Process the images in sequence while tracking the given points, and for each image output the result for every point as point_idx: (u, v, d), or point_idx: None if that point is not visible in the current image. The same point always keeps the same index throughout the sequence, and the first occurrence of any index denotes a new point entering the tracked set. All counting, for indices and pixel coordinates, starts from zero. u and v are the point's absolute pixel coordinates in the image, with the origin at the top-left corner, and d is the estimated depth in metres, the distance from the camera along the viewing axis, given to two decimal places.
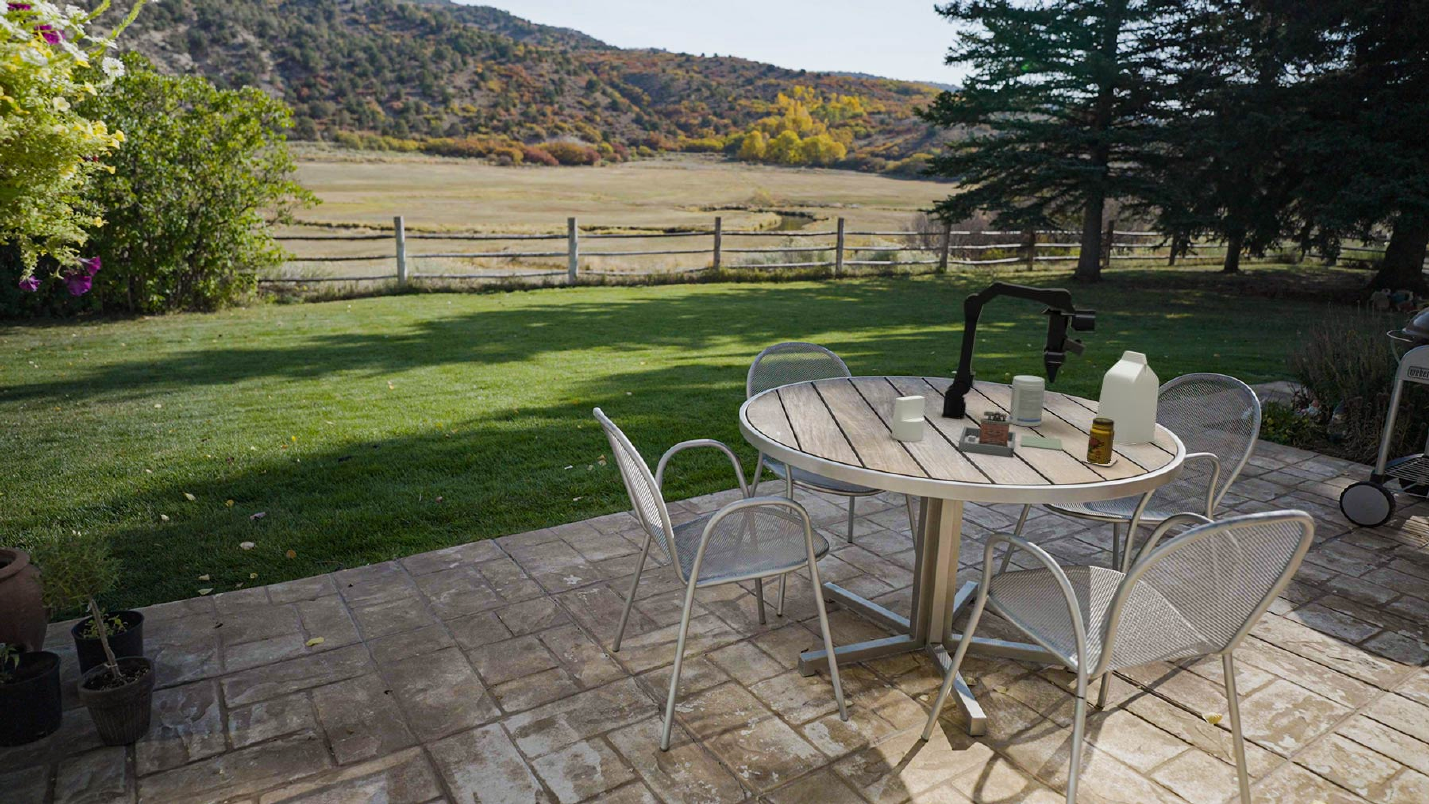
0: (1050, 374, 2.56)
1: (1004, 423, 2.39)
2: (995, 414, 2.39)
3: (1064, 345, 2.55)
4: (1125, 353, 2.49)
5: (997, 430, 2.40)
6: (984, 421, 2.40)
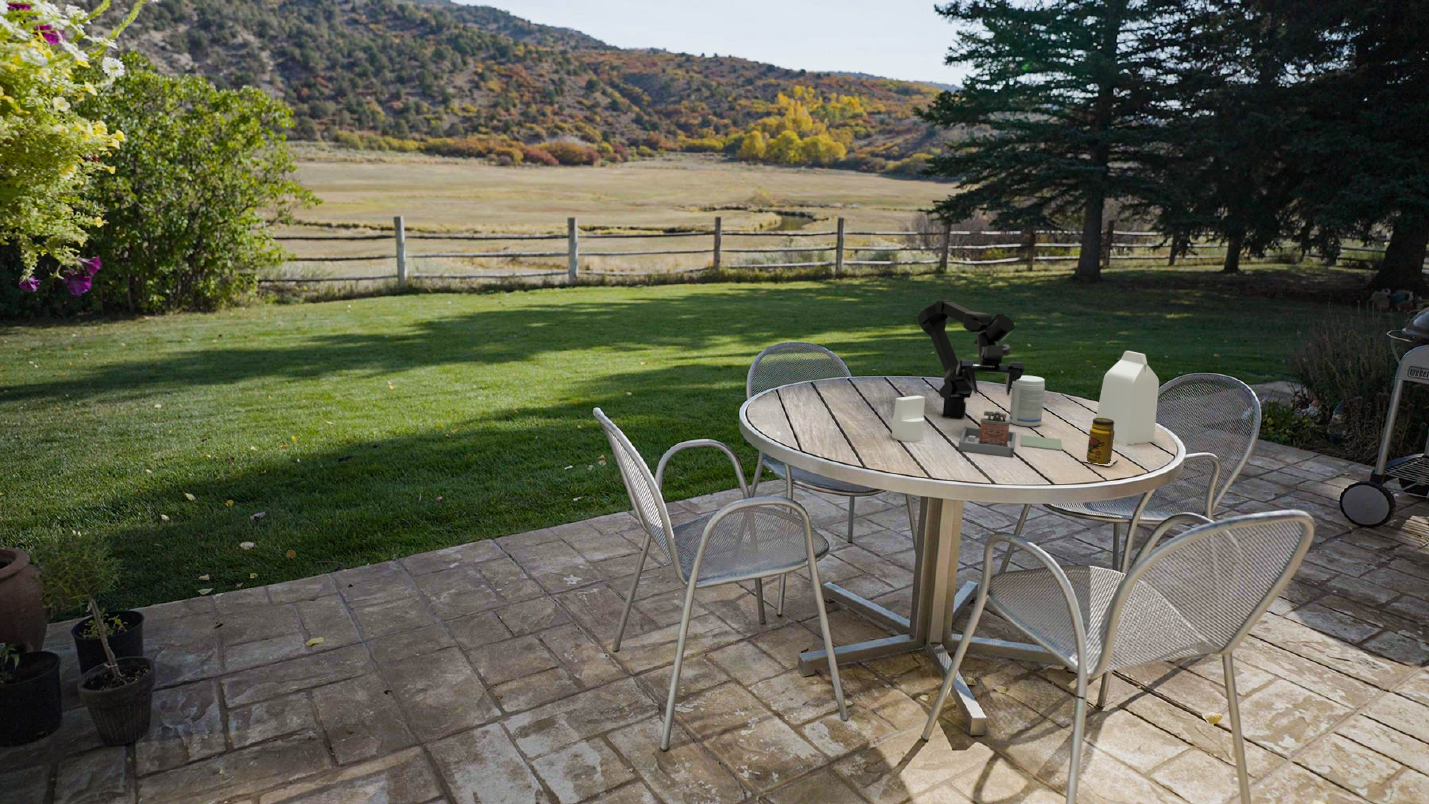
0: (972, 386, 2.49)
1: (1004, 423, 2.39)
2: (995, 414, 2.39)
3: (980, 355, 2.50)
4: (1125, 353, 2.49)
5: (997, 430, 2.40)
6: (984, 421, 2.40)
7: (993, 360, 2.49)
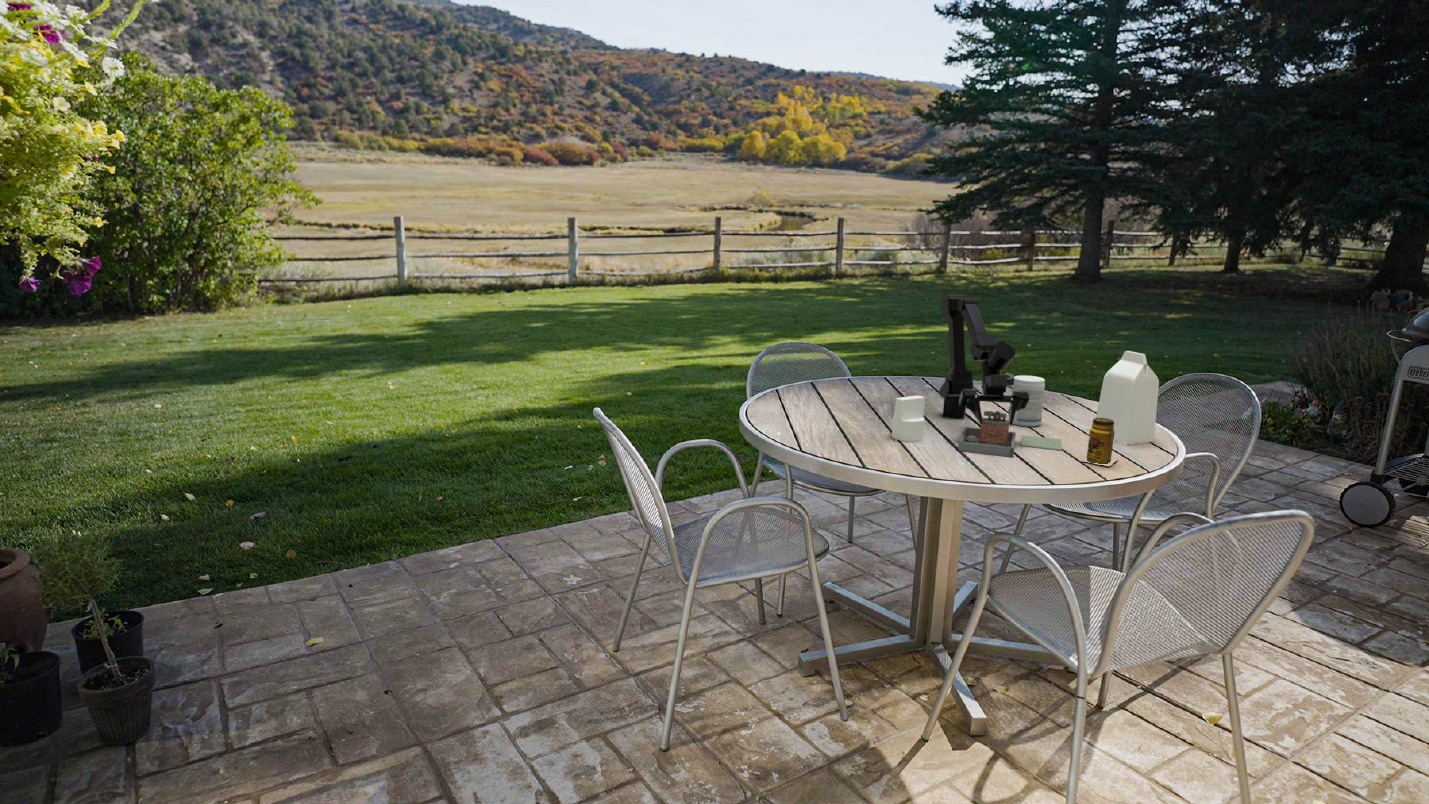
0: (977, 416, 2.42)
1: (1004, 423, 2.39)
2: (995, 414, 2.39)
3: (984, 385, 2.43)
4: (1125, 353, 2.49)
5: (997, 430, 2.40)
6: (984, 421, 2.40)
7: (997, 389, 2.42)
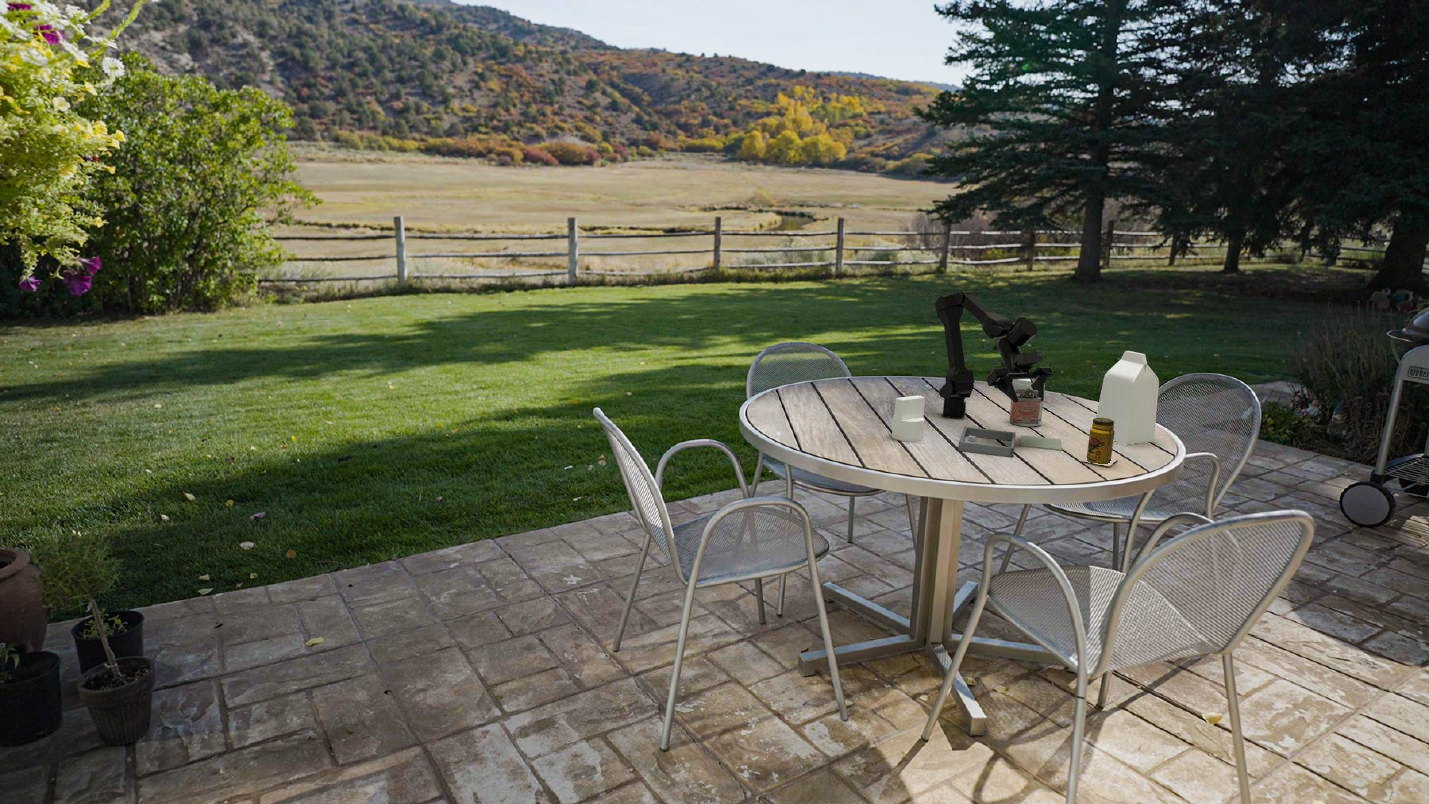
0: (1009, 395, 2.39)
1: (1037, 400, 2.39)
2: (1028, 391, 2.39)
3: (1011, 363, 2.42)
4: (1125, 353, 2.49)
5: (1030, 407, 2.39)
6: (1018, 399, 2.39)
7: (1024, 366, 2.41)
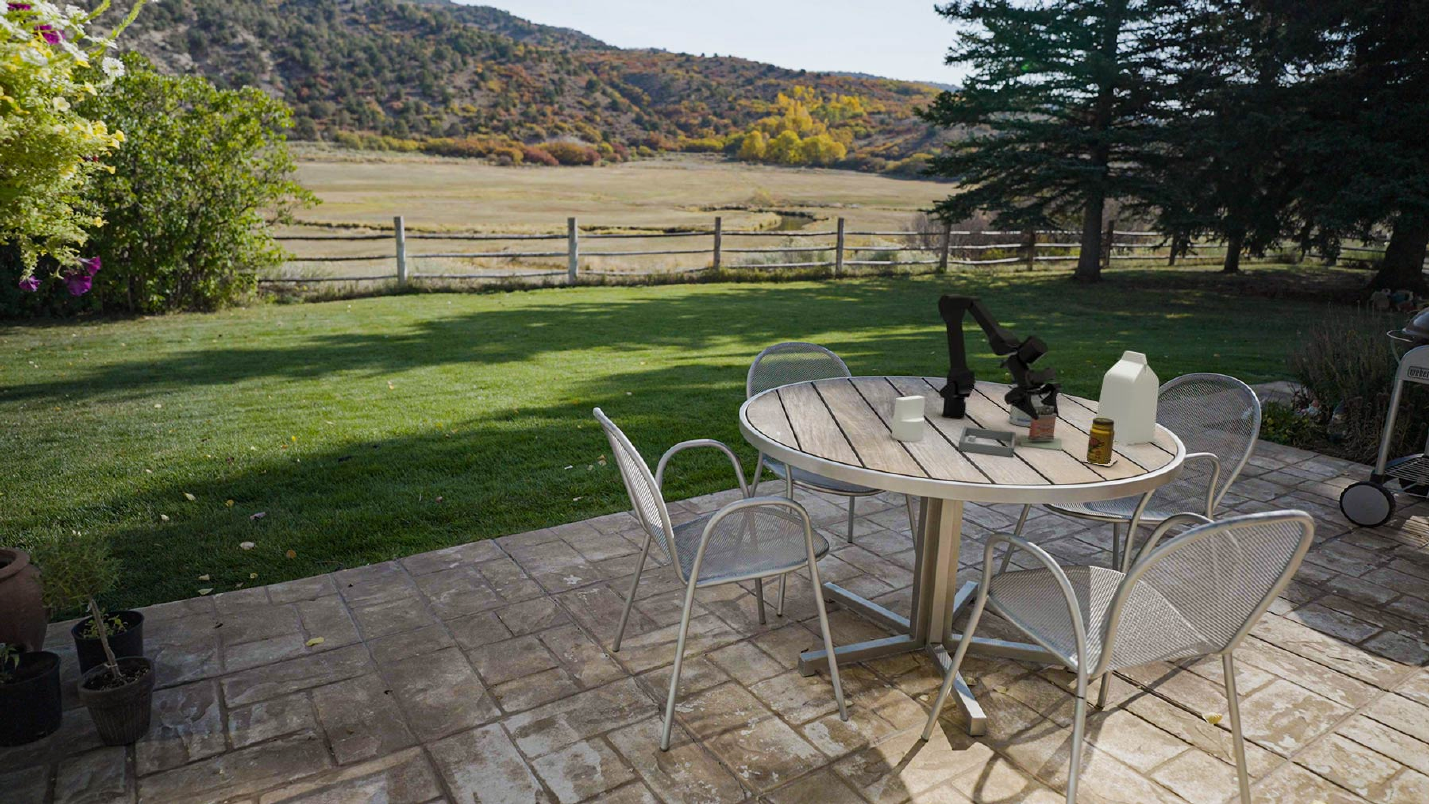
0: (1029, 412, 2.42)
1: (1054, 416, 2.43)
2: (1046, 408, 2.42)
3: (1026, 380, 2.44)
4: (1125, 353, 2.49)
5: (1048, 423, 2.43)
6: (1038, 416, 2.41)
7: (1038, 383, 2.44)
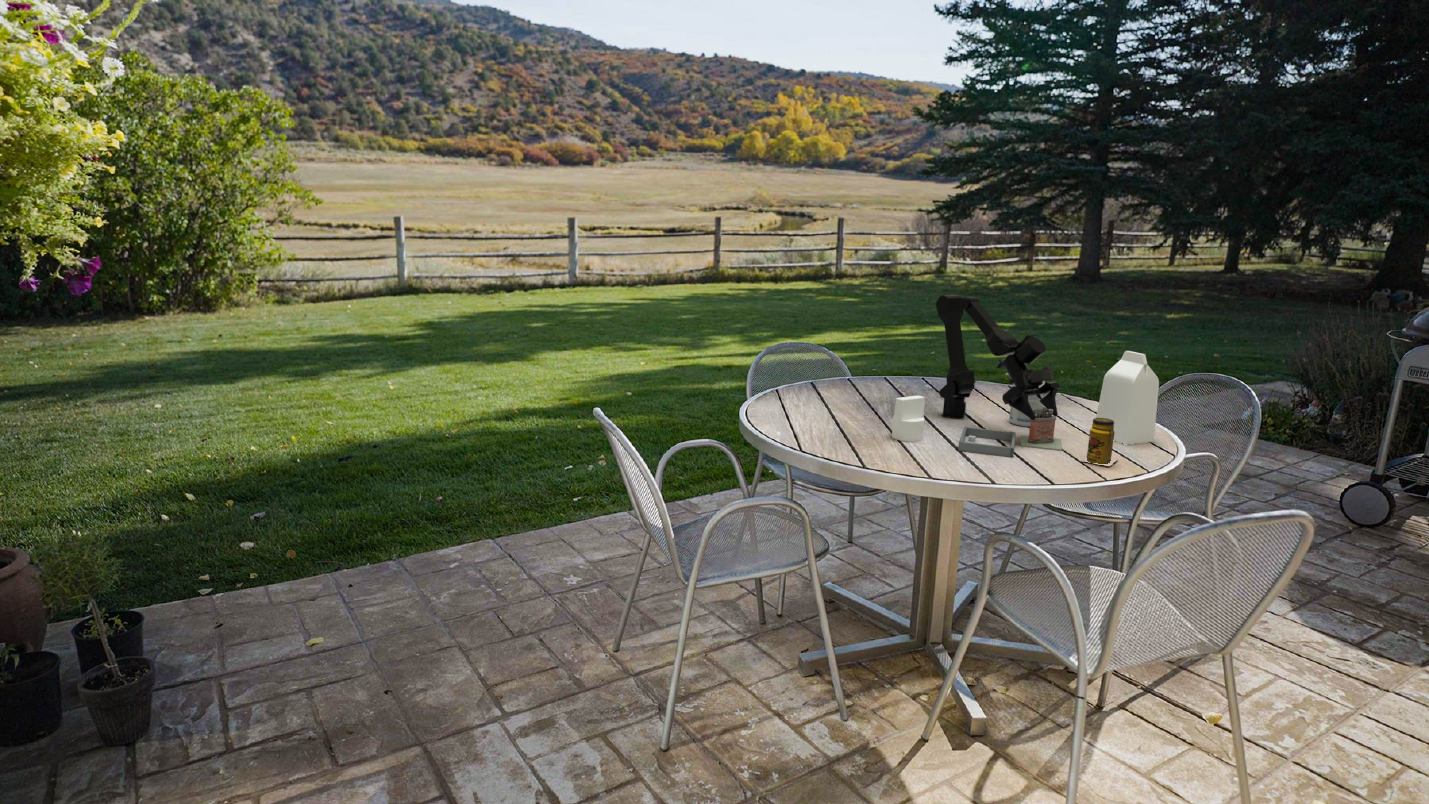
0: (1026, 412, 2.42)
1: (1053, 418, 2.43)
2: (1045, 411, 2.42)
3: (1024, 380, 2.44)
4: (1125, 353, 2.49)
5: (1048, 426, 2.43)
6: (1037, 419, 2.42)
7: (1036, 383, 2.45)
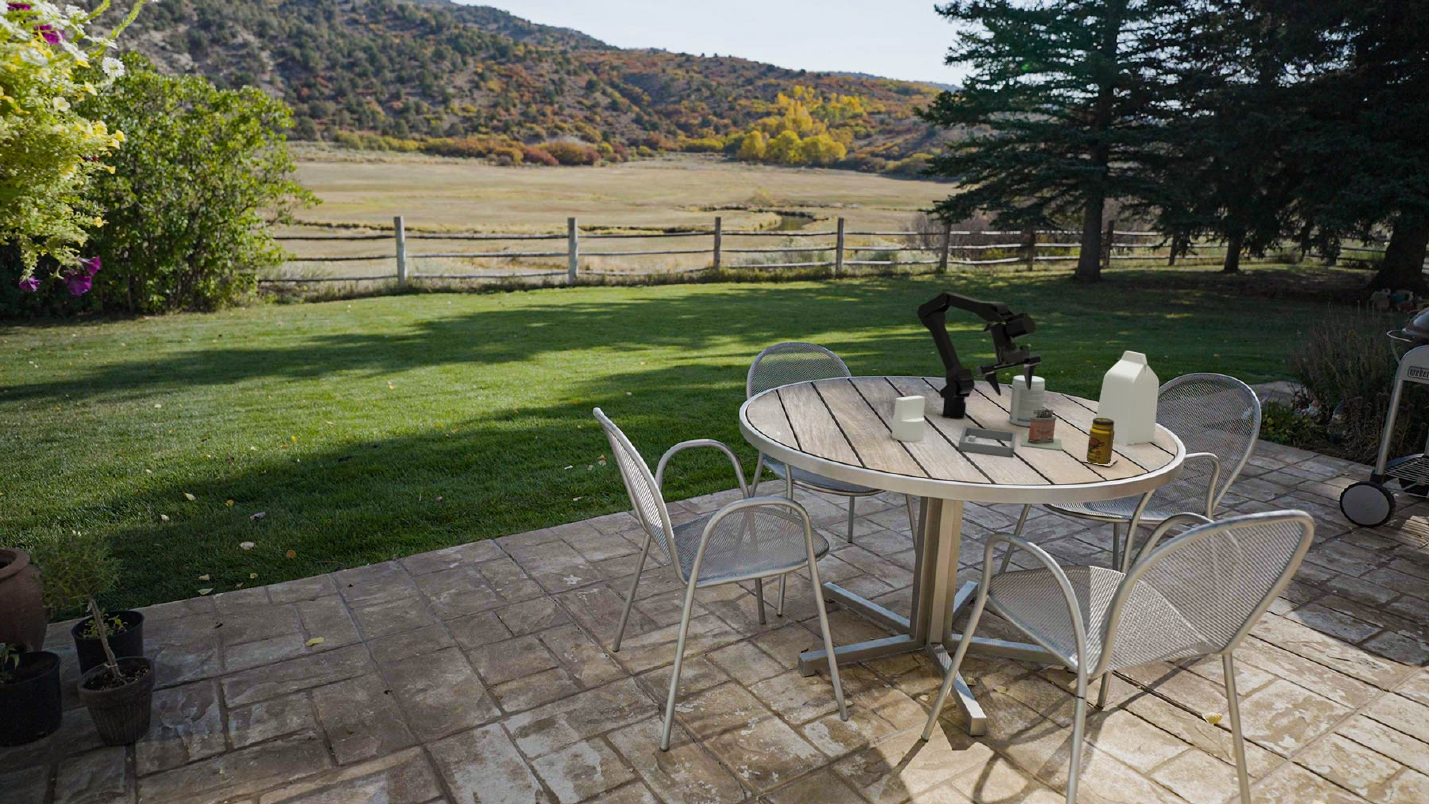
0: (994, 387, 2.55)
1: (1053, 419, 2.43)
2: (1045, 411, 2.42)
3: (999, 356, 2.52)
4: (1125, 353, 2.49)
5: (1048, 426, 2.43)
6: (1037, 420, 2.42)
7: None
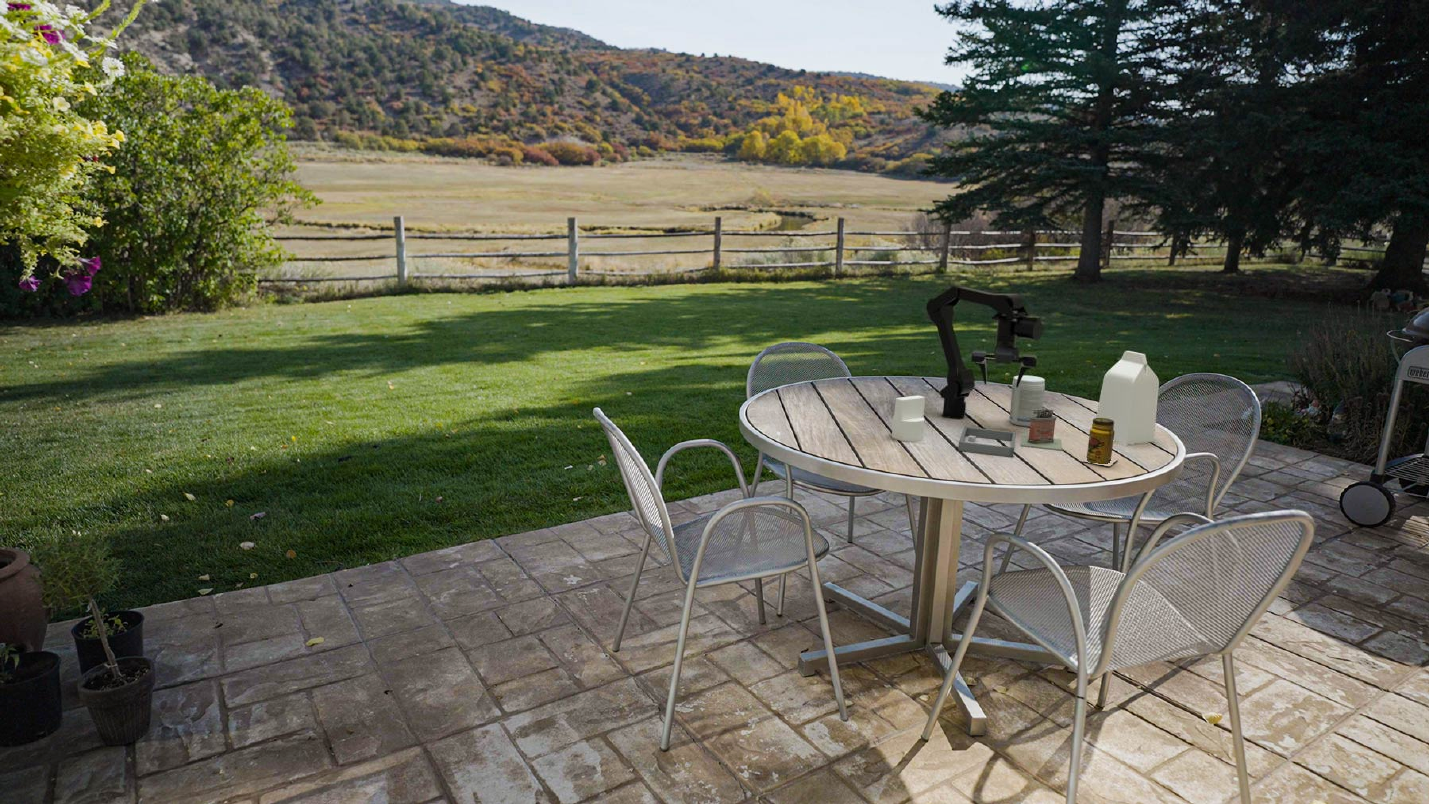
0: None
1: (1053, 419, 2.43)
2: (1045, 411, 2.42)
3: (994, 349, 2.55)
4: (1125, 353, 2.49)
5: (1048, 426, 2.43)
6: (1037, 419, 2.42)
7: None
